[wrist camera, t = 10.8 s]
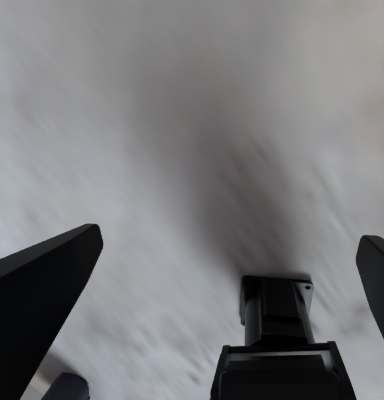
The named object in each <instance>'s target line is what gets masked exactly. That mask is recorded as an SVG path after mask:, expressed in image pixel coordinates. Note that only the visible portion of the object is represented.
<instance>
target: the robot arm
mask: <svg viewBox="0 0 384 400" xmlns="http://www.w3.org/2000/svg"><path fill="white" fill-rule="evenodd" d="M102 249H103V239H102V235H101V231H100V228H99V226H98V225H97V224H85V225H82V226H80V227H77V228H75V229H72V230H70V231H67V232H65V233H63V234H60V235H58V236H55V237H53V238H50V239H48V240H45V241H43V242H41V243H38V244H36V245H33V246H31V247H28V248H26V249H24V250H21V251H19V252H16V253H14V254H11V255H9V256H6V257H4V258H2V259H0V400H20V398H21V397H22V395H23V393H24V391H25V390H26V388H27V386H28V385H29V383H30V381H31V379H32V378H33V376H34V374H35V372H36V371H37V369H38V367H39V366H40V364H41V362H42V360H43V359H44V357H45V355H46V353H47V352H48V350H49V348H50V347H51V345H52V343H53V341H54V340H55V338H56V336H57V334H58V333H59V331H60V329H61V327H62V326H63V324H64V322H65V321H66V319H67V317H68V315H69V314H70V312H71V310H72V308H73V307H74V305H75V303H76V302H77V300H78V298H79V296H80V295H81V293H82V291H83V289H84V288H85V286H86V284H87V282H88V280H89V278H90V276H91V274H92V271H93V269H94V267H95V265H96V262H97V260H98V258H99V256H100V253H101V251H102ZM356 264H357V268H358V271H359V274H360V278H361V281H362V284H363V287H364V291H365V294H366V297H367V300H368V303H369V306H370V309H371V311H372V314H373V316H374V318H375V321H376V323H377V325H378V327H379V330H380V332H381V334H382V336H383V339H384V239H383V238H381V237H379V236H376V235H363V236H362V237H361V239H360V242H359V246H358V250H357V255H356ZM245 281H249V282H245ZM306 286H308V287H306ZM313 289H314V286H313V283H312V282H311V281H308V280H296V279H282V278H269V277H256V276H244V277H242V285H241V324H242V325H243V326H245V346H230V345H224V346H223V349H222V352H221V354H220V357H219V361H218V365H217V369H216V373H215V377H214V380H213V384H212V388H211V393H210V395H211V397H210V399H209V400H356V396H355V393H354V390H353V387H352V384H351V382H350V379H349V376H348V374H347V371H346V369H345V366H344V363H343V361H342V358H341V356H340V353H339V350H338V348H337V345H336V343H335V341H327V343H315V342H314V338H313V333H312V329H311V325H310V321H309V312H310V306H311V301H312V295H313Z"/></svg>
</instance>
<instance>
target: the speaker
mask: <svg viewBox="0 0 384 400" xmlns="http://www.w3.org/2000/svg"><path fill="white" fill-rule="evenodd" d="M89 399H90V396H89V389H88V386H87V385H86V383H85V382H84V381H82V380H81V379H80V378H79V377H78V376H77V375H73V374H70V373H67V372H66V373H61V374H60V375H59V377H58V378H57V379H56V380H55V381H54V383H53V384H52V385H51V387H50V388H49V389H48V391H47V392H46V393H45V395H44V396H43V398H42V399H41V400H89Z"/></svg>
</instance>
